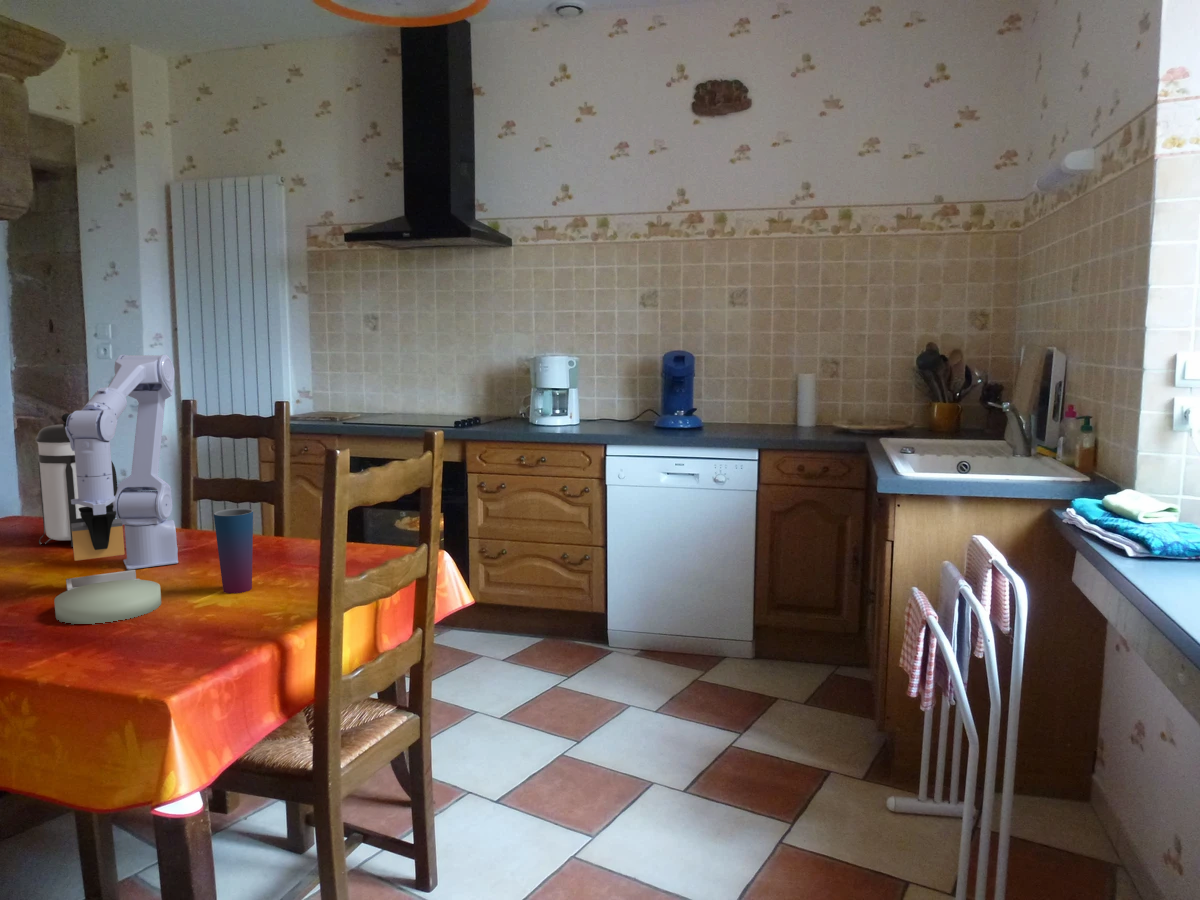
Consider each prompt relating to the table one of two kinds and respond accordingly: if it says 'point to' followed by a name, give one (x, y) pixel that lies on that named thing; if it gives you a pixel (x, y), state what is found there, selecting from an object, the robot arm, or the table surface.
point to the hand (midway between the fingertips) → (100, 546)
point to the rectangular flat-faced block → (85, 547)
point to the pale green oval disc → (106, 598)
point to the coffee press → (59, 482)
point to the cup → (235, 548)
